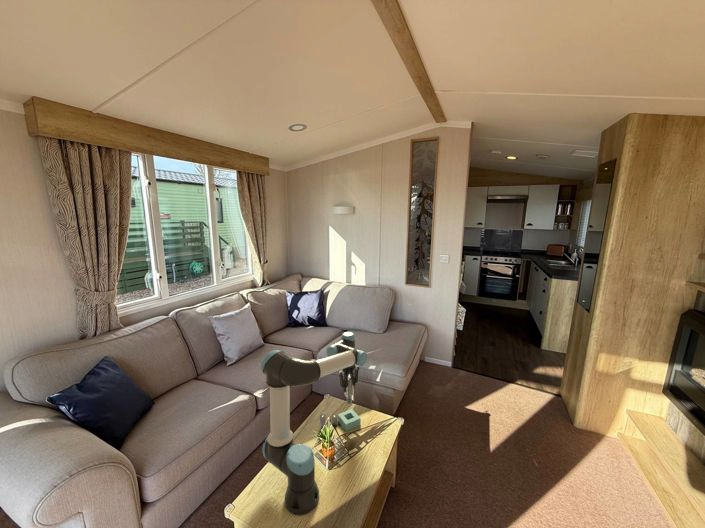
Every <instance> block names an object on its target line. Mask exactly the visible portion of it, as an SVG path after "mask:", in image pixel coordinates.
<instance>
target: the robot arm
mask: <svg viewBox="0 0 705 528" xmlns="http://www.w3.org/2000/svg"><path fill="white" fill-rule="evenodd" d="M325 353H326V355H327V356H326V357H324V358H320V359H313V358H312V359H307V360H306V359H301V358H298V357H296V356H294V355H291V354H289V353H286V352H285V351H283V350H279V349H273V350H271V351H269V352H268V353H267V354H266V355H265V356H264V357H263V358H262V361H261V363H260V370H261V373H262V374H263V375H265V381H266V382H265V383H266V387H268V388H269V411H270V413H269V415H270V416H269V417H270V419H269V420H270V426H269V427H270V433H268V435H267V437H266V438H265V440H264V442H263V444H262V450H261V451H262V455H263V457H264V459H265V460H266V461H267V463H269V464H271V465H272V466H273V467H275V469H277V470H279V471H280V472H281V473H282V474H283V475H285V476H286V477H287V487H286V491H285V494H284V506H285V508H286V510H287V511H288V512H289V513H290V514H293V515H295V516H304V515H306V514H309V513H311V512H312V511H313V510H314V509H315V508H316V506H317V505H318V503H319V500H320V490H319V486H318V485H317V484H318V483H317V482H316V479H315V477H316V476H315V473H316V472H315V463H316V462H315V461H316V460H315V455H314V450H313V449H312V448H311V447H310V446H309V445H308V444H305V443H295V442H294V433H293V431H292V430H291V427H290V426H291V425H290V423H291V421H290V420H291V418H290V416H291V415H290V411H291V410H290V407H291V406H290V403H291V402H290V401H291V400H290V393H291V392H290V387H301V386H302V387H303V386H308V385H311V384H314V383H316V382H318V381H319V380H320V378H323V377H326V376H328V375H330V374H334V373H336V372H337V373H338V375H339V385H340V387H341V388H342V389H343V393H344V396H345V397H346V399H347V398H348V387H347V381H348V378H351V379H352V397H353V396H354V393H355V392H354V390H355V389H356V385H357V383H359V381H358V380H359V370H360V367H363V366H364V365H366V364H367V361H368V353H367V352H366V351H364V350H362V349H358V348H356V336H355V334H354V332H352V331H345V332H343V333H342V334H341V338H340V339H339V340H338V341H335V342H333V343H331V344H330V345H329V346H327V348H326V352H325ZM349 375H350V376H349Z"/></svg>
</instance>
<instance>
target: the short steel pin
mask: <svg viewBox="0 0 705 528" xmlns="http://www.w3.org/2000/svg"><path fill="white" fill-rule="evenodd" d="M330 418H331V425H332V424H333V425H334V426H335V427H336V426H337V425H338V414H332V415H331V417H330ZM333 425H332V426H333Z"/></svg>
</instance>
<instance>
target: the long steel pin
mask: <svg viewBox="0 0 705 528" xmlns="http://www.w3.org/2000/svg"><path fill="white" fill-rule="evenodd" d="M347 387H348V398H347V397H346V404H349V405H350V404H352V403H353V396H352V379H351V378H350V377H348V381H347Z"/></svg>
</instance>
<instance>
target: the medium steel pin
mask: <svg viewBox="0 0 705 528" xmlns="http://www.w3.org/2000/svg"><path fill="white" fill-rule="evenodd" d="M324 425H325V426H326V414H324V413H321V414H319V431H320V430H321V429H322V428H323V426H324Z"/></svg>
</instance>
